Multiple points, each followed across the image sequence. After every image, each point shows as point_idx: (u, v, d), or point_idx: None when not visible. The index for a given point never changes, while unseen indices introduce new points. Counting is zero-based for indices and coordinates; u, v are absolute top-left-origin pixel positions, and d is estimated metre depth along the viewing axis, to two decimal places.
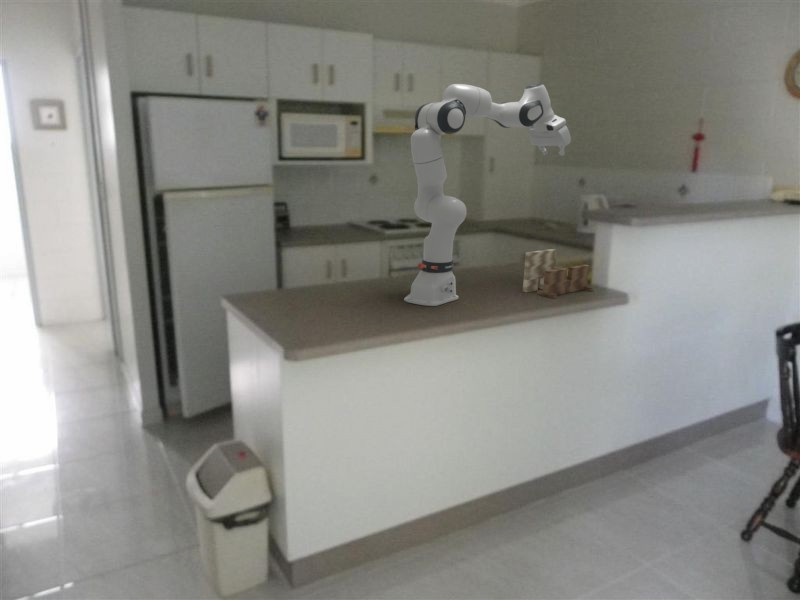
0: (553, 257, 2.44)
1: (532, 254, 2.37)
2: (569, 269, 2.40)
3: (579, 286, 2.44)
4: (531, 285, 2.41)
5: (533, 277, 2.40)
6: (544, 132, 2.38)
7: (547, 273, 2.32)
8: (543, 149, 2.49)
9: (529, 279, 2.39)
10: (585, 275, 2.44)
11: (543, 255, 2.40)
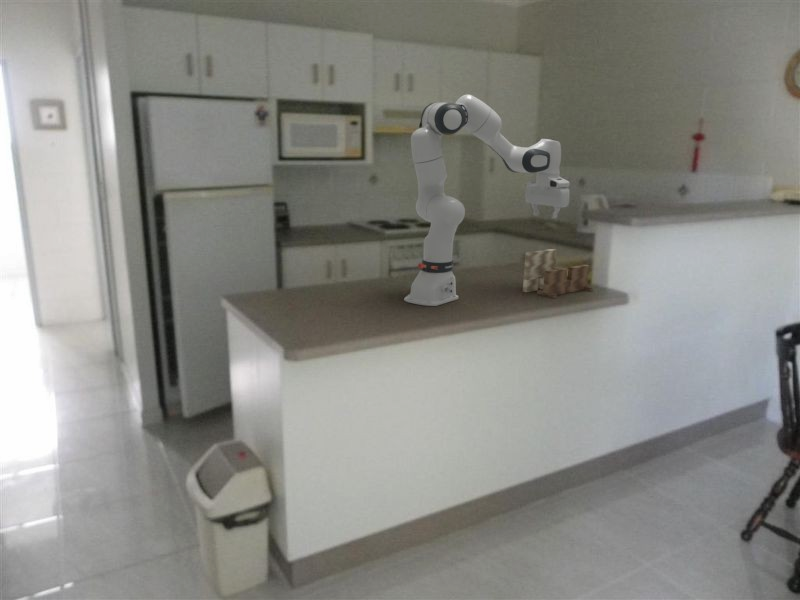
0: (553, 257, 2.44)
1: (532, 254, 2.37)
2: (569, 269, 2.40)
3: (579, 286, 2.44)
4: (531, 285, 2.41)
5: (533, 277, 2.40)
6: (545, 188, 2.32)
7: (547, 273, 2.32)
8: (535, 209, 2.41)
9: (529, 279, 2.39)
10: (585, 275, 2.44)
11: (543, 255, 2.40)
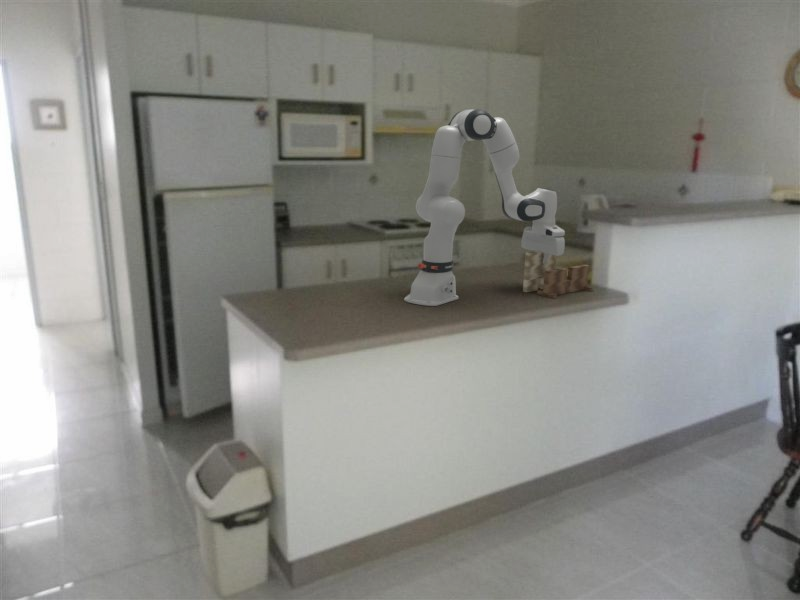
0: (553, 257, 2.44)
1: (532, 254, 2.37)
2: (569, 269, 2.40)
3: (579, 286, 2.44)
4: (531, 285, 2.41)
5: (533, 277, 2.40)
6: (540, 236, 2.36)
7: (547, 273, 2.32)
8: None
9: (529, 279, 2.39)
10: (585, 275, 2.44)
11: (543, 255, 2.40)
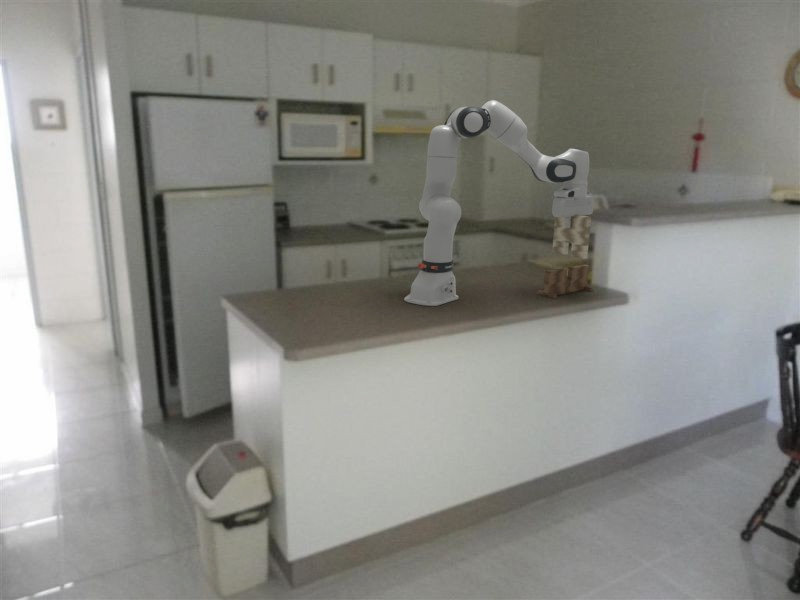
0: (583, 224, 2.28)
1: None
2: (569, 269, 2.40)
3: (579, 286, 2.44)
4: (557, 246, 2.40)
5: (559, 239, 2.38)
6: None
7: (547, 273, 2.32)
8: None
9: (555, 239, 2.40)
10: (585, 275, 2.44)
11: (571, 219, 2.32)
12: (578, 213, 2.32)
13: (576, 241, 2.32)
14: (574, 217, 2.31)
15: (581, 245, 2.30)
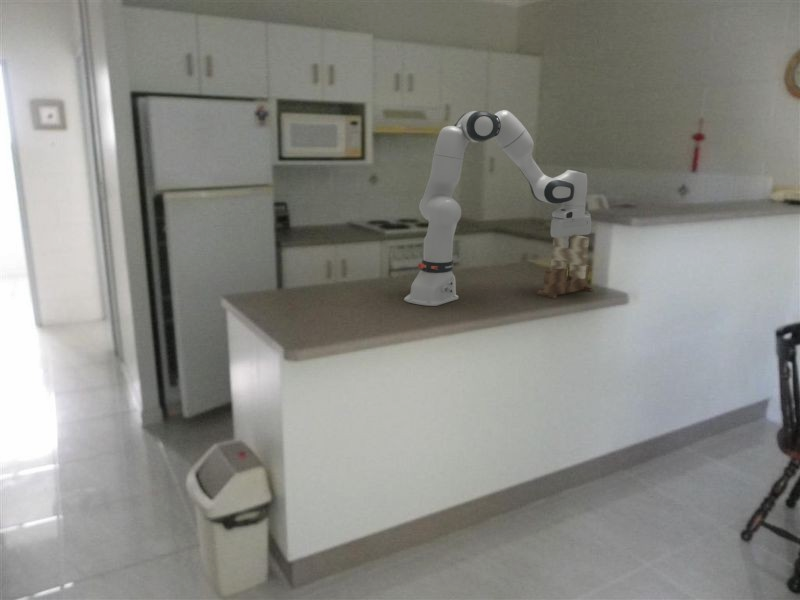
0: (581, 245, 2.30)
1: None
2: None
3: (579, 286, 2.44)
4: (556, 266, 2.42)
5: (558, 258, 2.40)
6: None
7: (547, 273, 2.32)
8: None
9: (553, 259, 2.42)
10: (585, 275, 2.44)
11: (569, 239, 2.34)
12: (576, 233, 2.34)
13: (574, 261, 2.34)
14: (572, 237, 2.33)
15: (579, 265, 2.32)
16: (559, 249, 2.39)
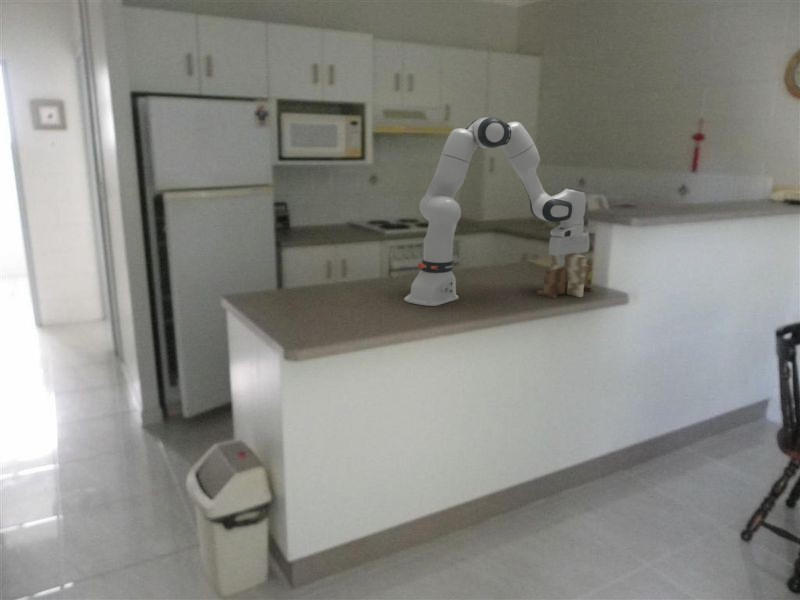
0: (579, 264, 2.32)
1: None
2: None
3: None
4: None
5: None
6: None
7: (547, 273, 2.32)
8: None
9: None
10: (585, 275, 2.44)
11: (567, 257, 2.36)
12: (574, 251, 2.36)
13: (572, 279, 2.36)
14: (570, 256, 2.35)
15: (577, 284, 2.34)
16: (557, 267, 2.41)
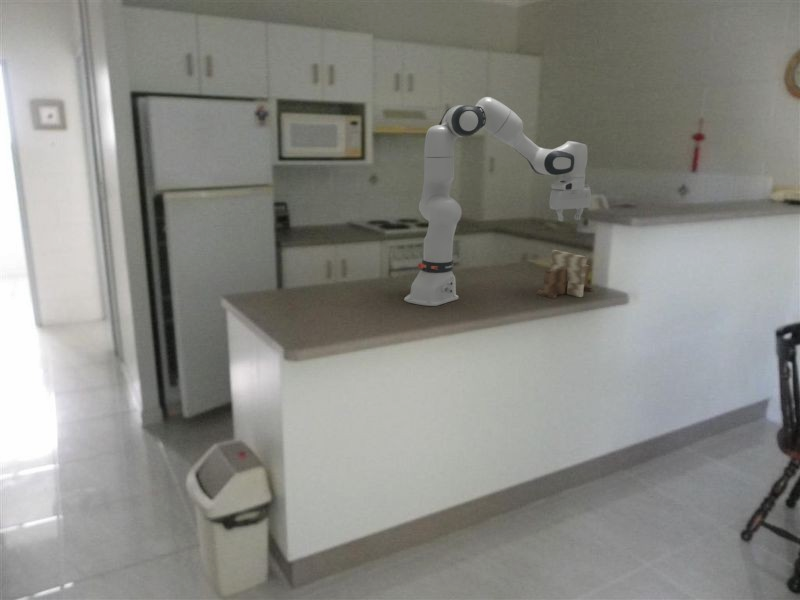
0: (579, 264, 2.32)
1: (555, 252, 2.41)
2: None
3: None
4: None
5: None
6: None
7: (547, 273, 2.32)
8: (577, 213, 2.36)
9: None
10: (585, 275, 2.44)
11: (567, 257, 2.36)
12: (575, 206, 2.31)
13: (572, 279, 2.36)
14: (570, 256, 2.35)
15: (577, 284, 2.34)
16: (557, 267, 2.41)
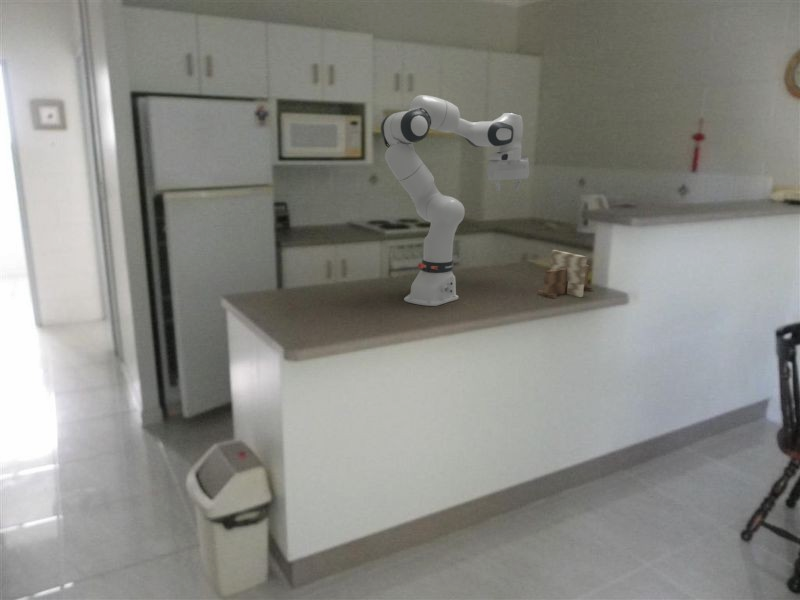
0: (579, 264, 2.32)
1: (555, 252, 2.41)
2: None
3: None
4: None
5: None
6: None
7: (547, 273, 2.32)
8: (516, 184, 2.42)
9: None
10: (585, 275, 2.44)
11: (567, 257, 2.36)
12: (513, 177, 2.38)
13: (572, 279, 2.36)
14: (570, 256, 2.35)
15: (577, 284, 2.34)
16: (557, 267, 2.41)
